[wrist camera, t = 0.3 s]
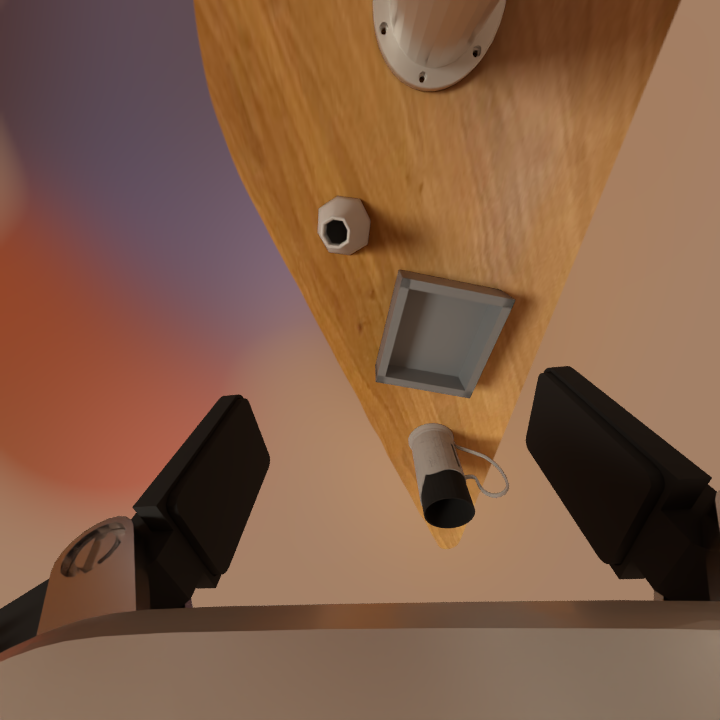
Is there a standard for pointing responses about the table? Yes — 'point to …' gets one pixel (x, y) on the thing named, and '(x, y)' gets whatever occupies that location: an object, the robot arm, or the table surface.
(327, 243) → the flask
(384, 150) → the table surface
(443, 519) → the grey mug
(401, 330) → the charcoal box
